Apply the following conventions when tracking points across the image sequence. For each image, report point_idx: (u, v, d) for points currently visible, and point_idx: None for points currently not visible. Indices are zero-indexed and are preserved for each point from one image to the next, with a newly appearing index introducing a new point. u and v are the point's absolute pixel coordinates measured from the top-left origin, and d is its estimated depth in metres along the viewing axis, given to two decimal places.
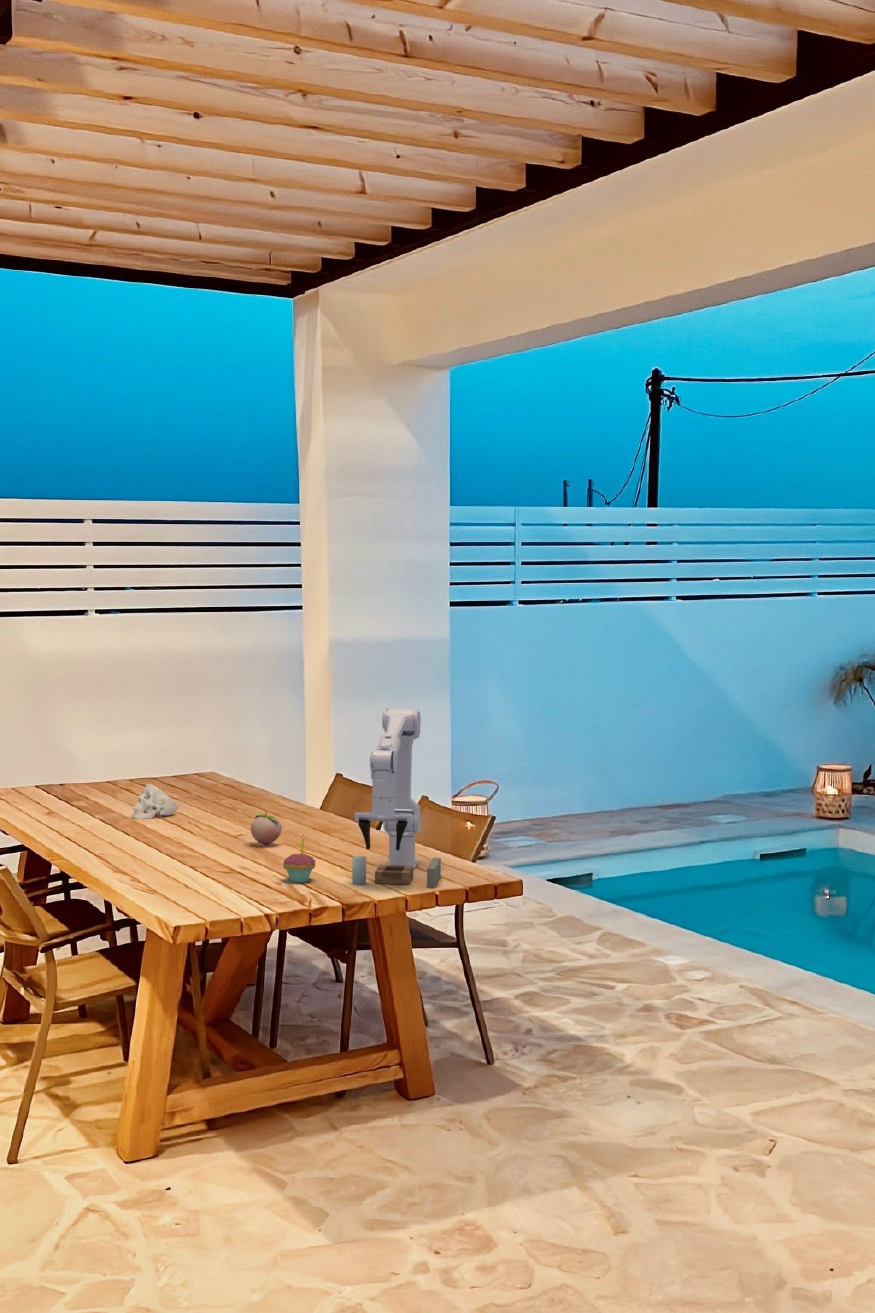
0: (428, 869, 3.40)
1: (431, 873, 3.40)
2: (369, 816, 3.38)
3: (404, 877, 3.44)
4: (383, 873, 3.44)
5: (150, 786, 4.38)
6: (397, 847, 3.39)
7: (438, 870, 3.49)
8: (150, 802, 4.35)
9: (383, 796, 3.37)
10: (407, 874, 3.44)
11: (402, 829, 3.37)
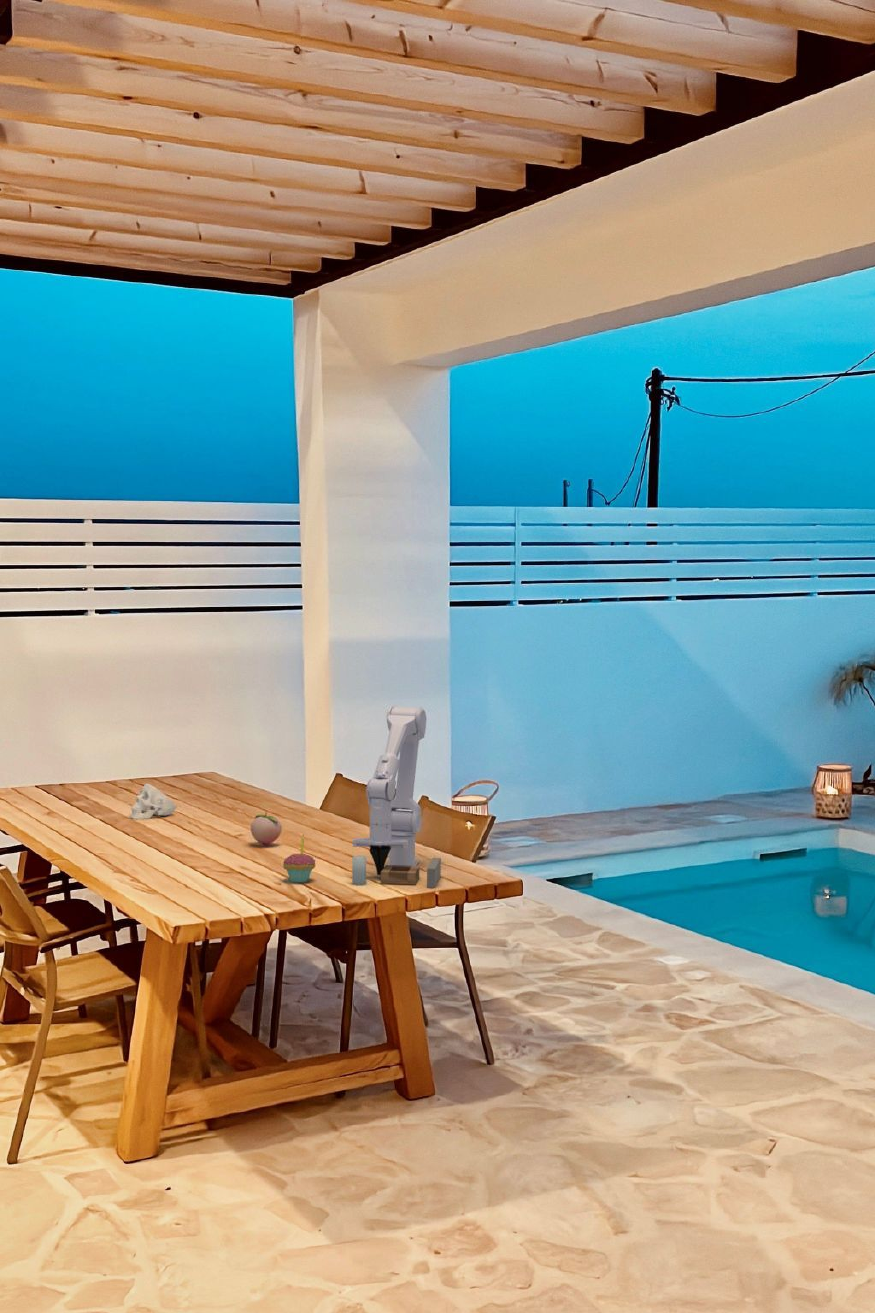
0: (428, 869, 3.40)
1: (431, 873, 3.40)
2: (366, 842, 3.49)
3: (410, 878, 3.43)
4: (389, 873, 3.44)
5: (148, 786, 4.38)
6: (380, 872, 3.50)
7: (438, 870, 3.49)
8: (148, 802, 4.35)
9: (378, 823, 3.48)
10: (413, 874, 3.43)
11: (385, 854, 3.49)
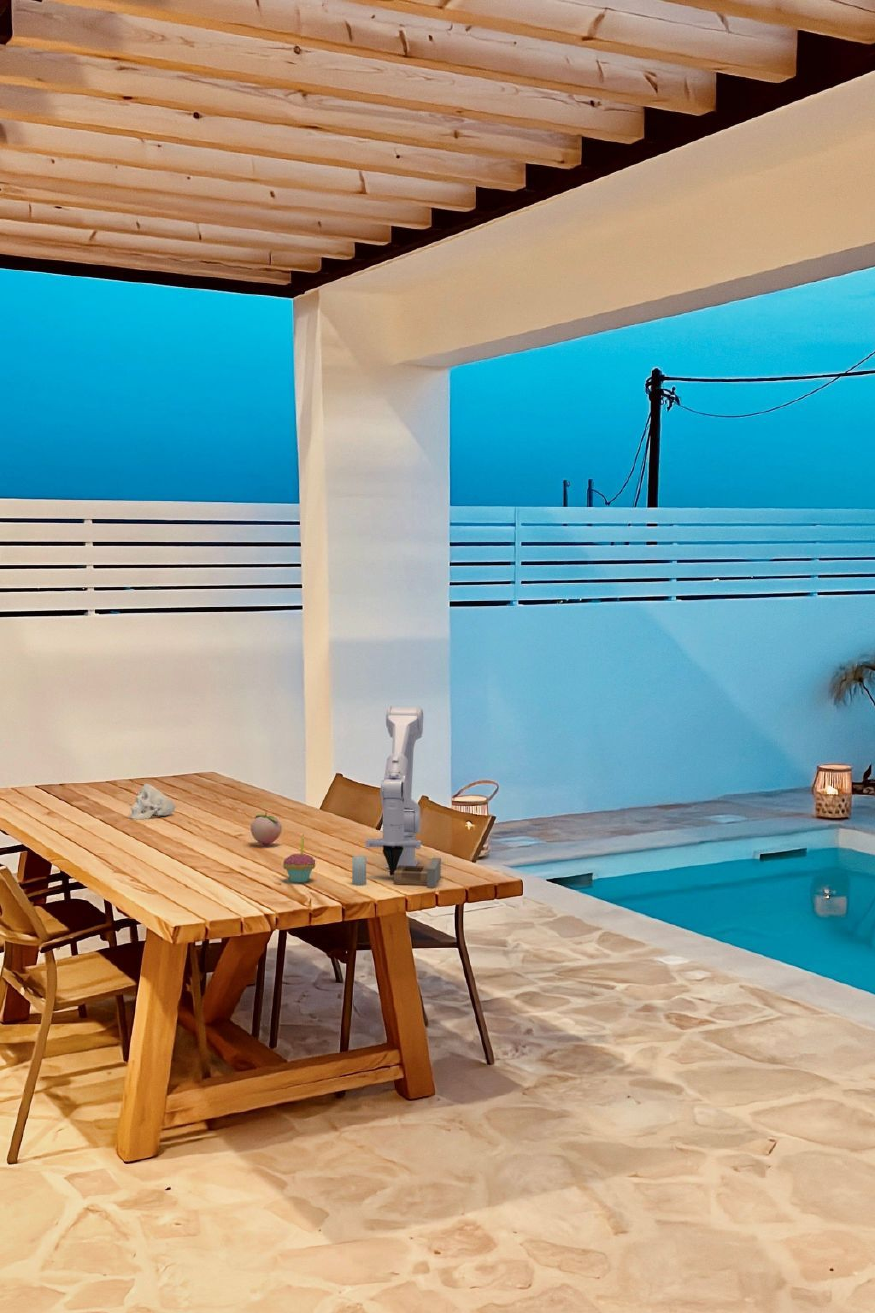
0: (428, 869, 3.40)
1: (431, 873, 3.40)
2: (379, 843, 3.49)
3: (423, 878, 3.43)
4: (402, 874, 3.44)
5: (148, 786, 4.37)
6: (393, 872, 3.50)
7: (438, 870, 3.49)
8: (148, 802, 4.35)
9: (393, 823, 3.48)
10: (426, 875, 3.43)
11: (398, 855, 3.48)
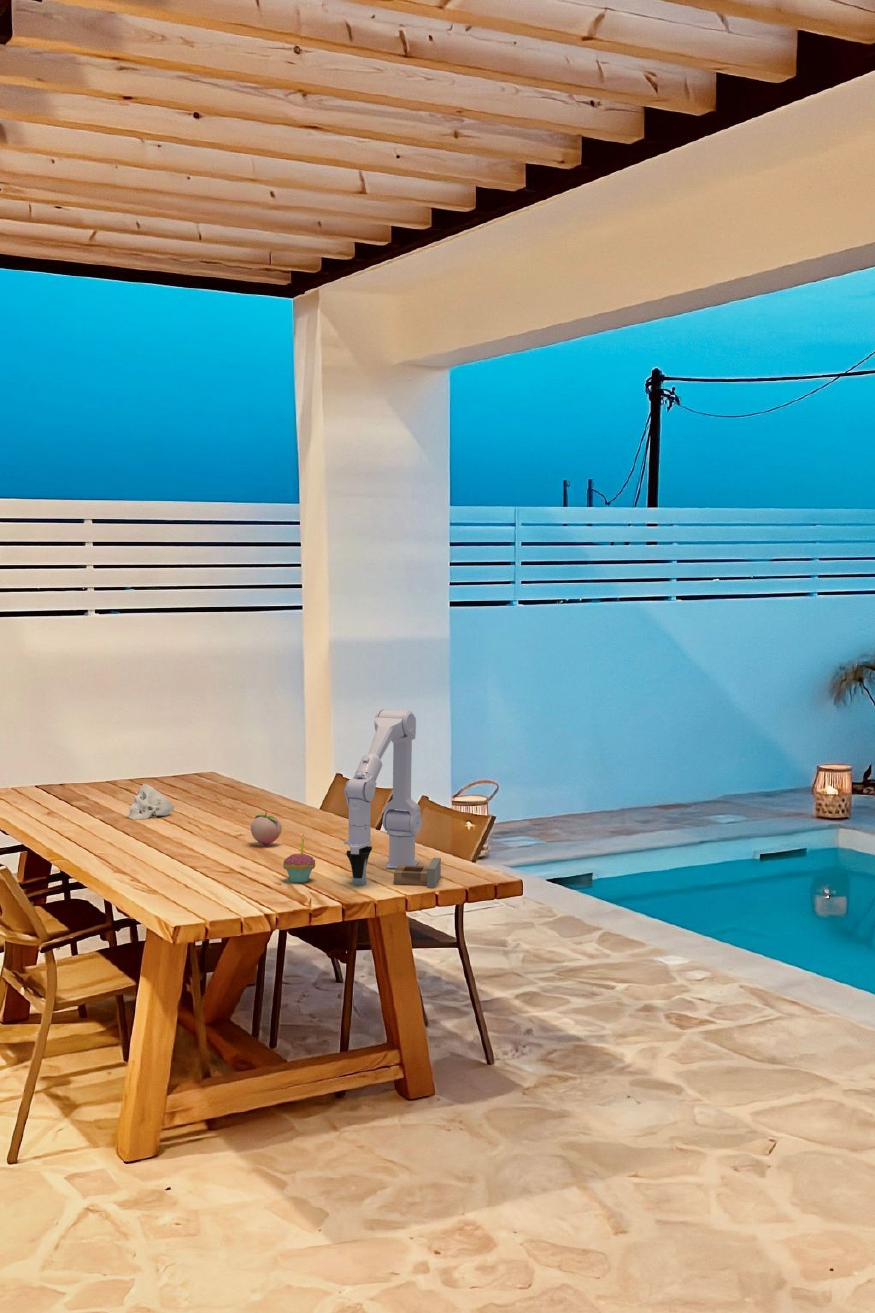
0: (428, 869, 3.40)
1: (431, 873, 3.40)
2: None
3: (423, 878, 3.43)
4: (402, 874, 3.44)
5: (146, 786, 4.37)
6: (353, 874, 3.42)
7: (438, 870, 3.49)
8: (146, 802, 4.35)
9: (356, 824, 3.41)
10: (426, 875, 3.43)
11: None
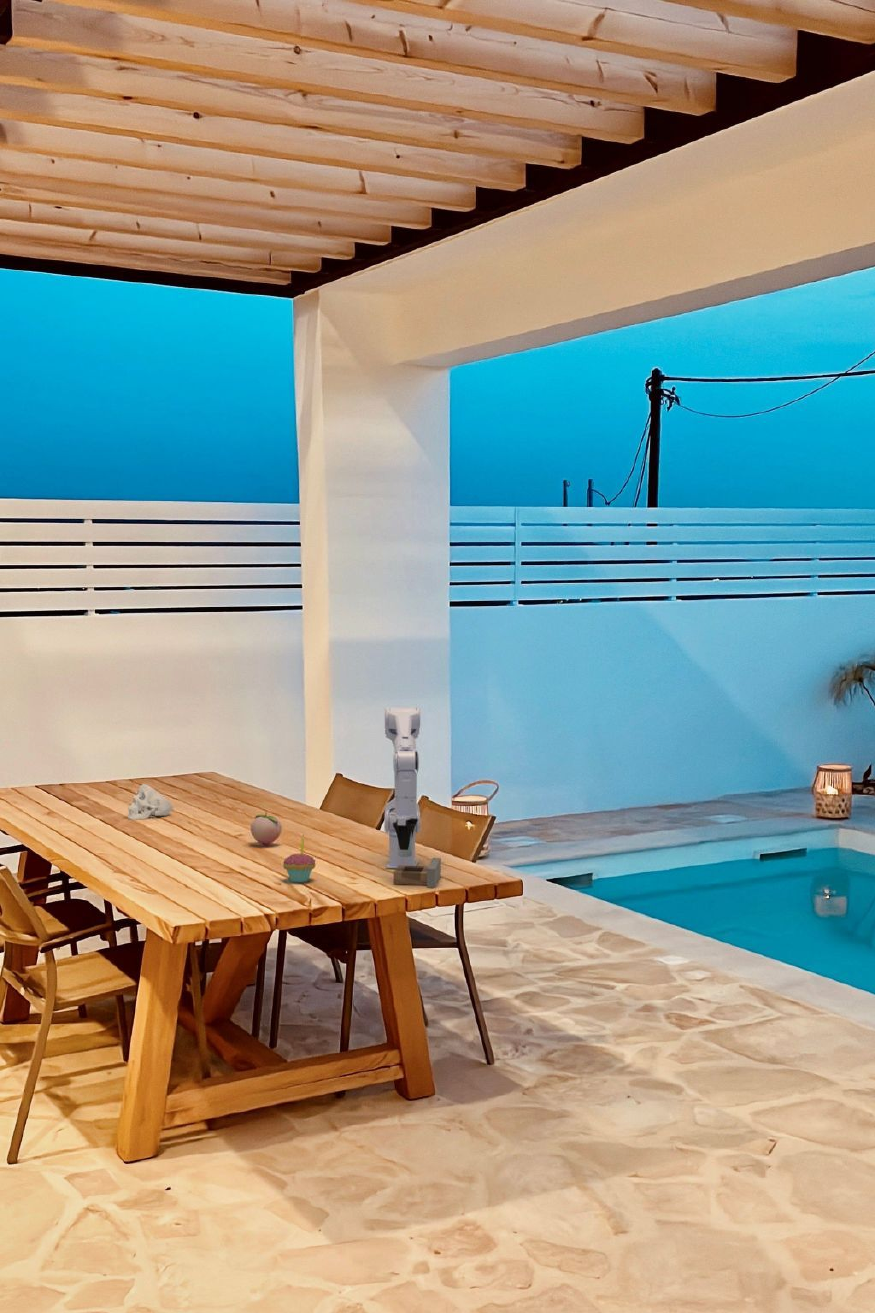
0: (428, 869, 3.40)
1: (431, 873, 3.40)
2: None
3: (423, 878, 3.43)
4: (402, 874, 3.44)
5: (145, 786, 4.37)
6: (399, 846, 3.45)
7: (438, 870, 3.49)
8: (145, 802, 4.34)
9: (408, 796, 3.44)
10: (426, 875, 3.43)
11: (394, 828, 3.44)
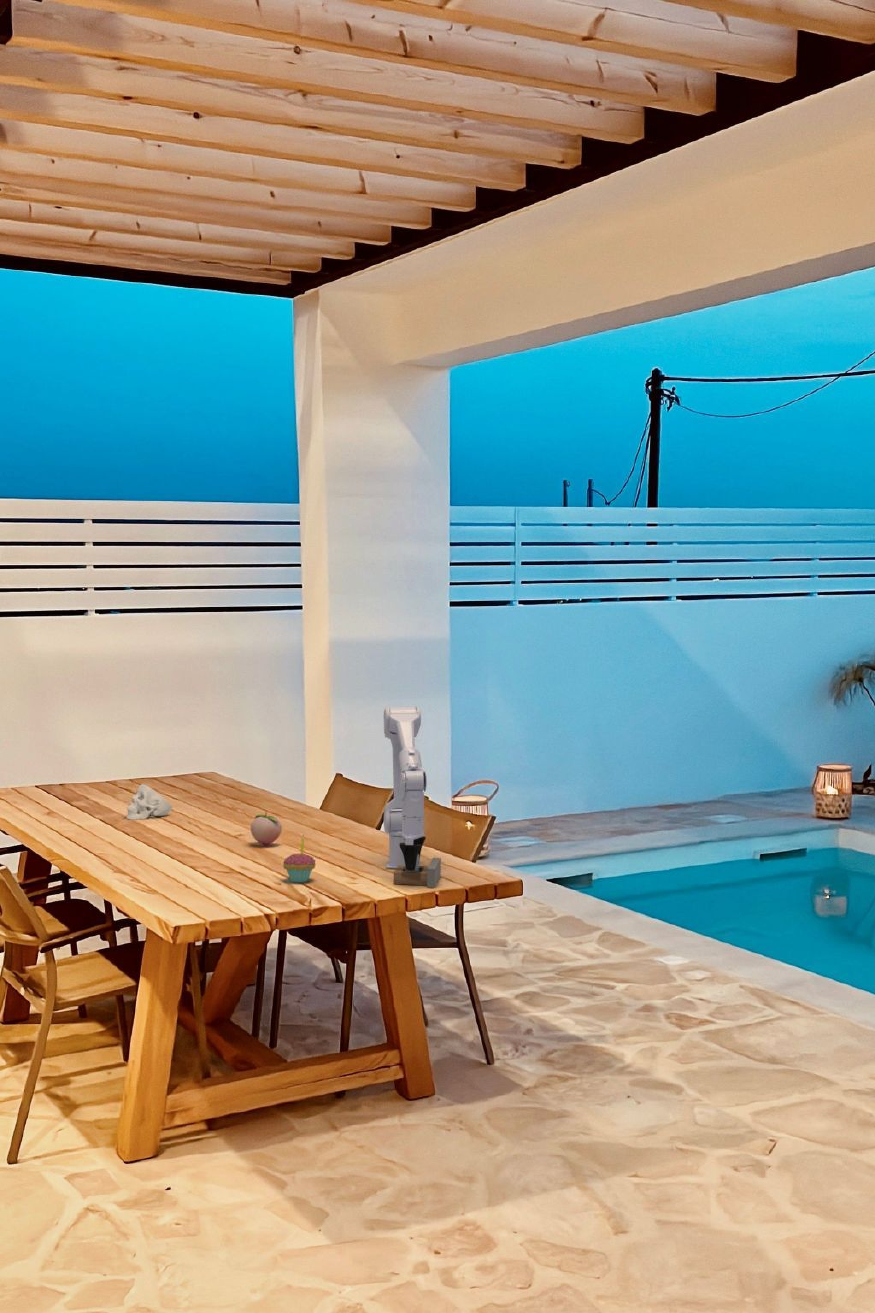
0: (428, 869, 3.40)
1: (431, 873, 3.40)
2: None
3: (423, 878, 3.43)
4: (402, 874, 3.44)
5: (144, 787, 4.37)
6: None
7: (438, 870, 3.49)
8: (144, 803, 4.34)
9: (416, 815, 3.44)
10: (426, 875, 3.43)
11: (401, 849, 3.43)
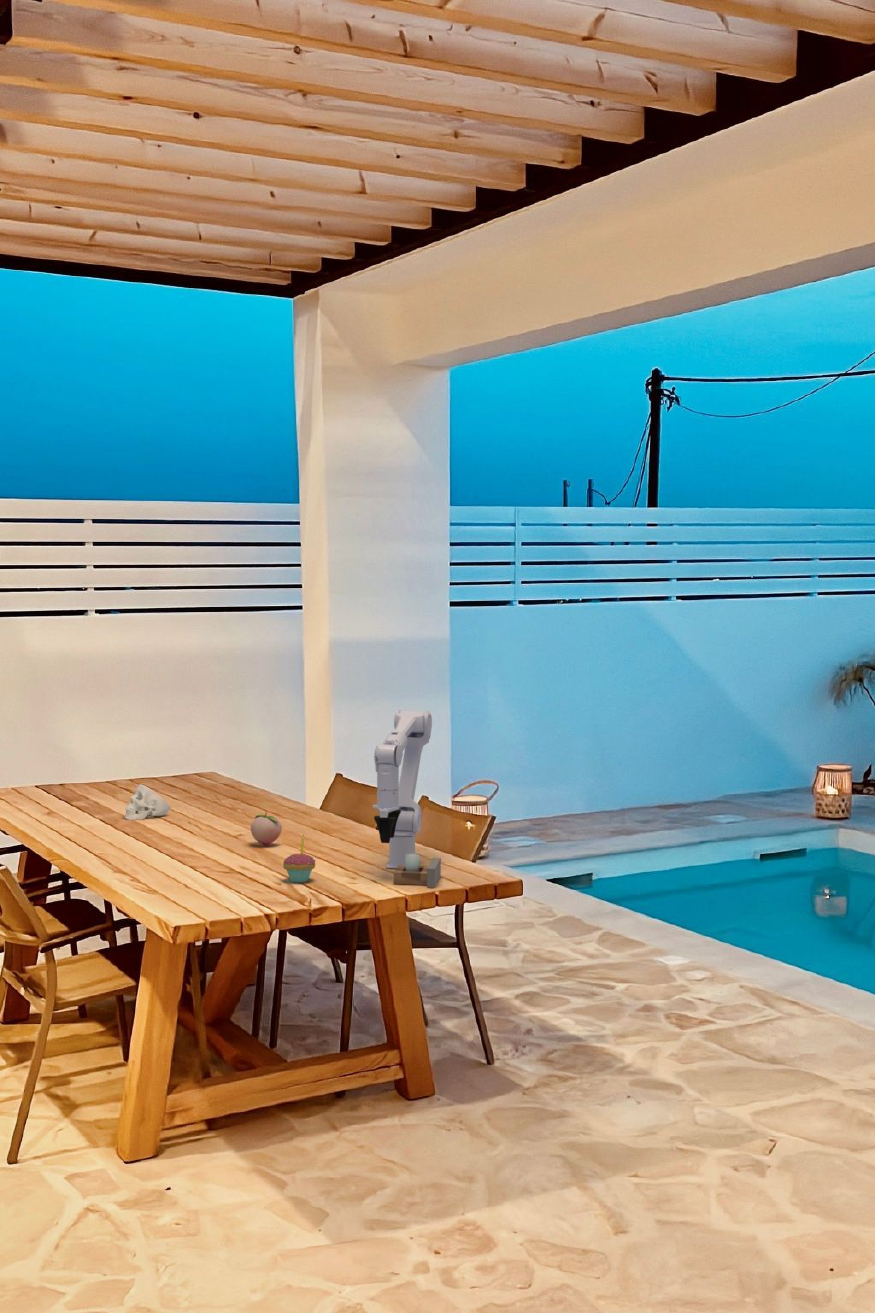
0: (428, 869, 3.40)
1: (431, 873, 3.40)
2: None
3: (423, 878, 3.43)
4: (402, 874, 3.44)
5: (142, 787, 4.36)
6: (380, 839, 3.49)
7: (438, 870, 3.49)
8: (142, 803, 4.34)
9: (386, 788, 3.49)
10: (426, 875, 3.43)
11: None
